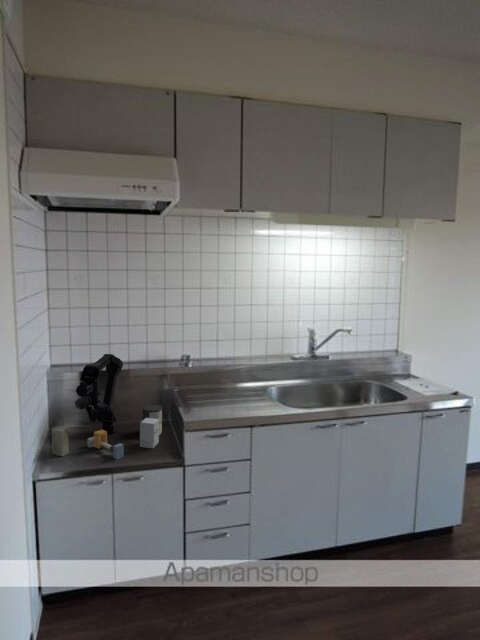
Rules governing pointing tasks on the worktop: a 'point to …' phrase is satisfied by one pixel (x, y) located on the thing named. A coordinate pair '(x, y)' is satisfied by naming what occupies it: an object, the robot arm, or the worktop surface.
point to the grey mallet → (115, 449)
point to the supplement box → (149, 432)
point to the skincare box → (60, 441)
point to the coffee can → (153, 413)
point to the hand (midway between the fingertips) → (92, 421)
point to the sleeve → (97, 438)
